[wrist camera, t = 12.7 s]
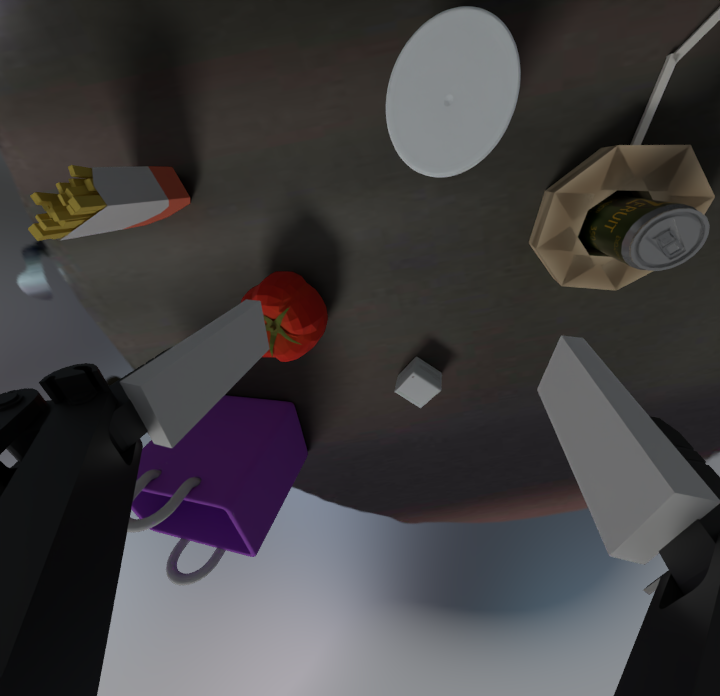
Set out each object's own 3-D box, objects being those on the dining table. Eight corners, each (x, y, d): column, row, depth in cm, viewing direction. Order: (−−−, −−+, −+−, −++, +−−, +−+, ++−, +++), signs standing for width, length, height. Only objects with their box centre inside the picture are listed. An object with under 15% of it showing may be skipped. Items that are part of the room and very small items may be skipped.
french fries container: (139, 194, 46) (-6, 205, 31) (183, 163, 42) (40, 159, 27) (158, 223, 48) (29, 246, 33) (202, 196, 44) (77, 209, 29)
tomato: (332, 345, 52) (310, 379, 43) (266, 329, 54) (232, 359, 45) (338, 272, 45) (312, 297, 36) (260, 257, 46) (219, 276, 38)
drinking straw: (688, 6, 24) (692, 3, 24) (731, 2, 24) (736, -1, 23) (629, 146, 30) (632, 146, 29) (663, 146, 29) (666, 146, 29)
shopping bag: (285, 381, 60) (175, 529, 35) (321, 452, 70) (254, 607, 45) (190, 392, 70) (51, 512, 45) (233, 452, 79) (138, 579, 55)
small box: (397, 375, 52) (393, 392, 48) (416, 354, 49) (413, 371, 45) (422, 391, 53) (420, 409, 49) (442, 372, 49) (442, 390, 45)
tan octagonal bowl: (558, 147, 31) (570, 145, 28) (714, 147, 28) (745, 144, 25) (518, 274, 38) (525, 282, 35) (639, 284, 36) (657, 293, 33)
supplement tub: (506, 69, 29) (552, -5, 17) (481, 177, 34) (502, 181, 22) (410, 70, 31) (390, 4, 19) (400, 173, 36) (378, 174, 24)
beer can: (640, 219, 32) (727, 241, 22) (589, 253, 35) (646, 286, 25) (614, 183, 31) (693, 188, 21) (564, 221, 34) (614, 241, 24)
